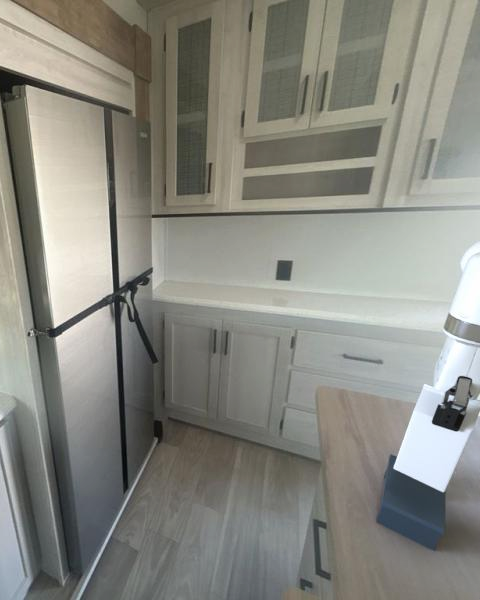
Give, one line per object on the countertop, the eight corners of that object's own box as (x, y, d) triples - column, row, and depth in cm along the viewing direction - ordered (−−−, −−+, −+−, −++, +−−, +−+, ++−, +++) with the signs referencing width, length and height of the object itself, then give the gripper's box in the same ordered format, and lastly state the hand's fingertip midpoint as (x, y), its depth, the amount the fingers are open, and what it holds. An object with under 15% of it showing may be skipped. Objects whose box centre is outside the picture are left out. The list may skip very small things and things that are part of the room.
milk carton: (443, 493, 61) (480, 412, 53) (392, 469, 66) (420, 392, 59) (451, 471, 64) (486, 392, 57) (402, 449, 70) (428, 375, 63)
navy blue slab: (383, 472, 77) (390, 453, 75) (436, 495, 71) (445, 475, 69) (374, 521, 67) (382, 500, 65) (435, 551, 62) (445, 530, 59)
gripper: (445, 304, 61) (418, 382, 68) (444, 343, 50) (412, 432, 57) (509, 314, 56) (473, 397, 63) (524, 359, 45) (478, 454, 52)
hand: (444, 413), depth 60 cm, fingers closed on milk carton, 7 cm apart
